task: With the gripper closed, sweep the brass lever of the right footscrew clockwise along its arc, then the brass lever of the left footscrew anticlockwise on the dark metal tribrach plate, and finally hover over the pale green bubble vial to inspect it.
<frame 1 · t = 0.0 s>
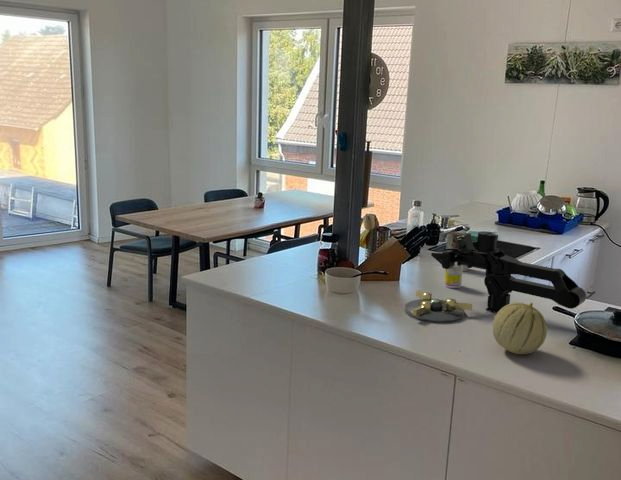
hand: (438, 252, 216), 17 cm above the countertop, tool horizontal, fingers open, 9 cm apart
knob b: (459, 305, 197), point 3 cm above the countertop, hinge at 0.0°
tribrach plate: (434, 312, 200), on the countertop
knob c: (423, 295, 207), point 3 cm above the countertop, hinge at 0.0°
coffee box: (457, 269, 256), on the countertop
cantaloupe: (516, 352, 168), on the countertop
knob a: (421, 308, 193), point 3 cm above the countertop, hinge at 0.0°
supplement bottle: (452, 286, 230), on the countertop
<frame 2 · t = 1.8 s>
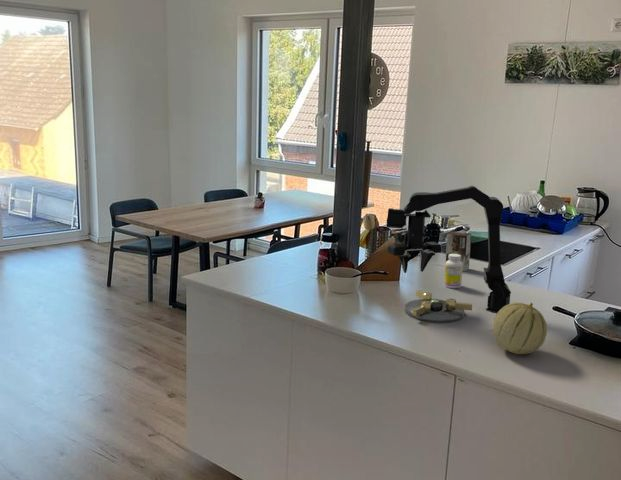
hand: (413, 272, 205), 12 cm above the countertop, tool pointing down, fingers open, 6 cm apart
nothing on the countertop moved.
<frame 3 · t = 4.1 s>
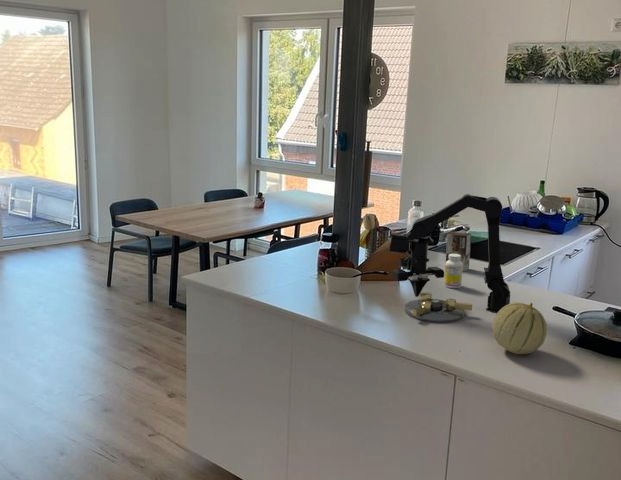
hand: (416, 296, 208), 3 cm above the countertop, tool pointing down, fingers closed
knob c: (423, 295, 207), point 3 cm above the countertop, hinge at -1.1°, touching gripper
everything else where it was.
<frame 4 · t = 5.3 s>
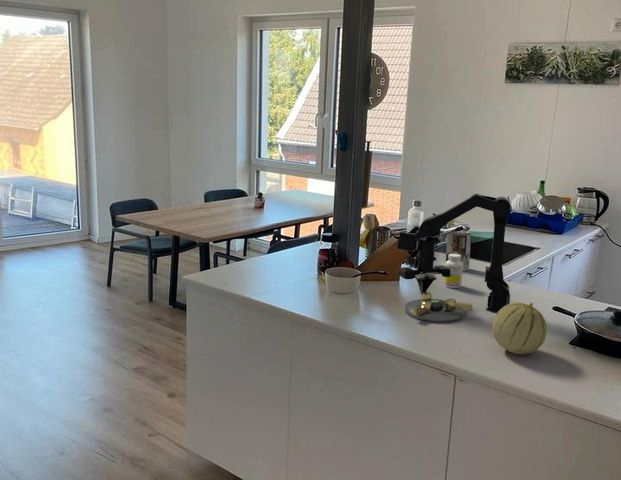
hand: (422, 294, 210), 3 cm above the countertop, tool pointing down, fingers closed
knob c: (427, 295, 207), point 3 cm above the countertop, hinge at -31.4°, touching gripper
everything else where it was.
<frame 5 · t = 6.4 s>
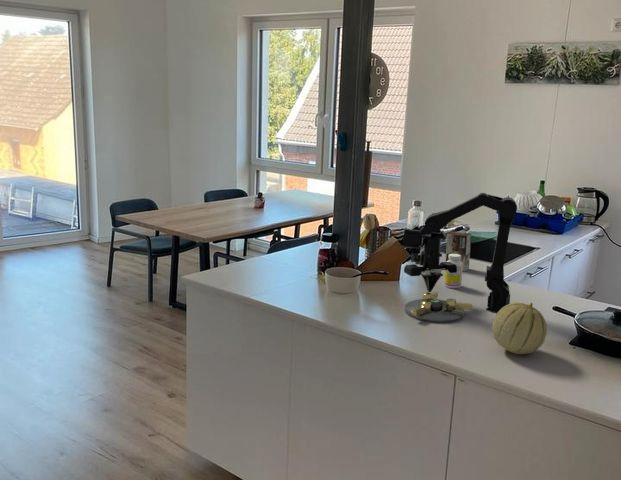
hand: (429, 291, 209), 4 cm above the countertop, tool pointing down, fingers closed
knob c: (430, 296, 206), point 3 cm above the countertop, hinge at -56.1°
everything else where it was.
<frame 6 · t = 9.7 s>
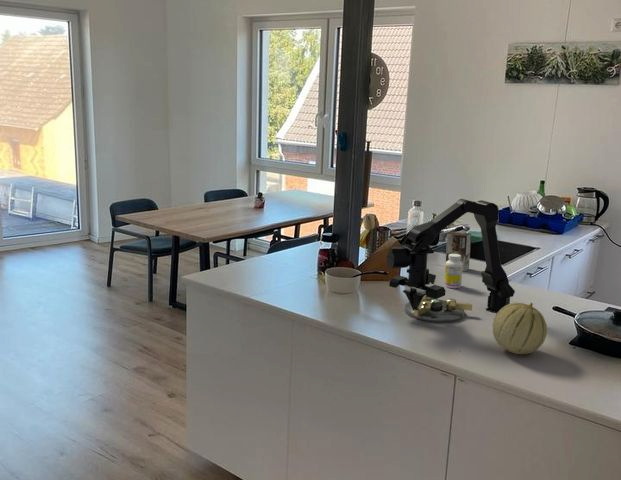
hand: (415, 311, 193), 3 cm above the countertop, tool pointing down, fingers closed
knob a: (422, 308, 193), point 3 cm above the countertop, hinge at 4.0°, touching gripper
everything else where it was.
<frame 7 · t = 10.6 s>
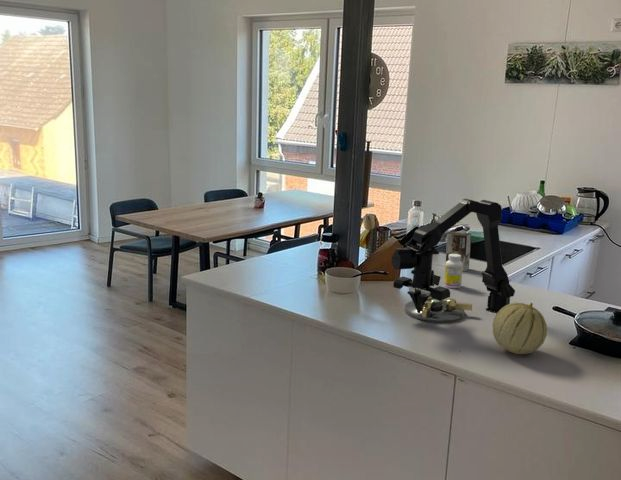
hand: (419, 312, 191), 3 cm above the countertop, tool pointing down, fingers closed
knob a: (425, 309, 193), point 3 cm above the countertop, hinge at 27.4°, touching gripper
everything else where it was.
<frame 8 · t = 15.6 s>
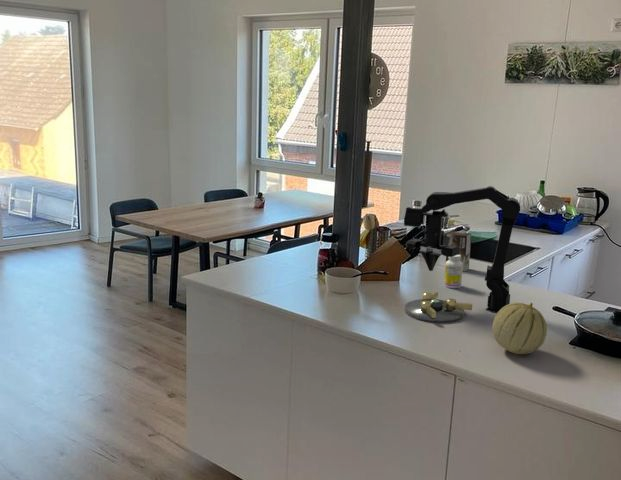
hand: (430, 270, 208), 12 cm above the countertop, tool pointing down, fingers closed
knob a: (429, 309, 193), point 3 cm above the countertop, hinge at 53.5°
everything else where it was.
at the end: knob c at -56° (first picture: +0°); knob a at +54° (first picture: +0°); knob b at +0° (first picture: +0°) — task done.
